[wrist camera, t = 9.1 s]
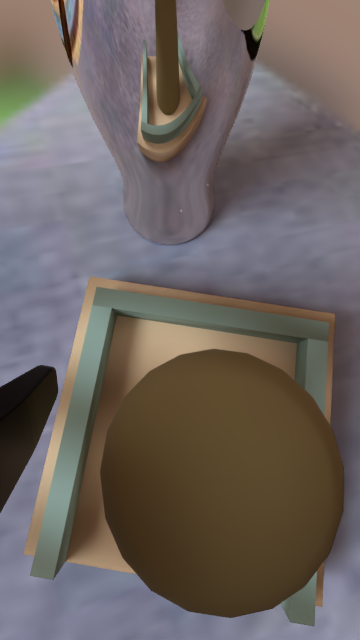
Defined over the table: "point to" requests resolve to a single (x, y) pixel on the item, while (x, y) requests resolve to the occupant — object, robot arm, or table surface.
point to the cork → (222, 483)
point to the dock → (121, 377)
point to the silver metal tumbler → (163, 96)
